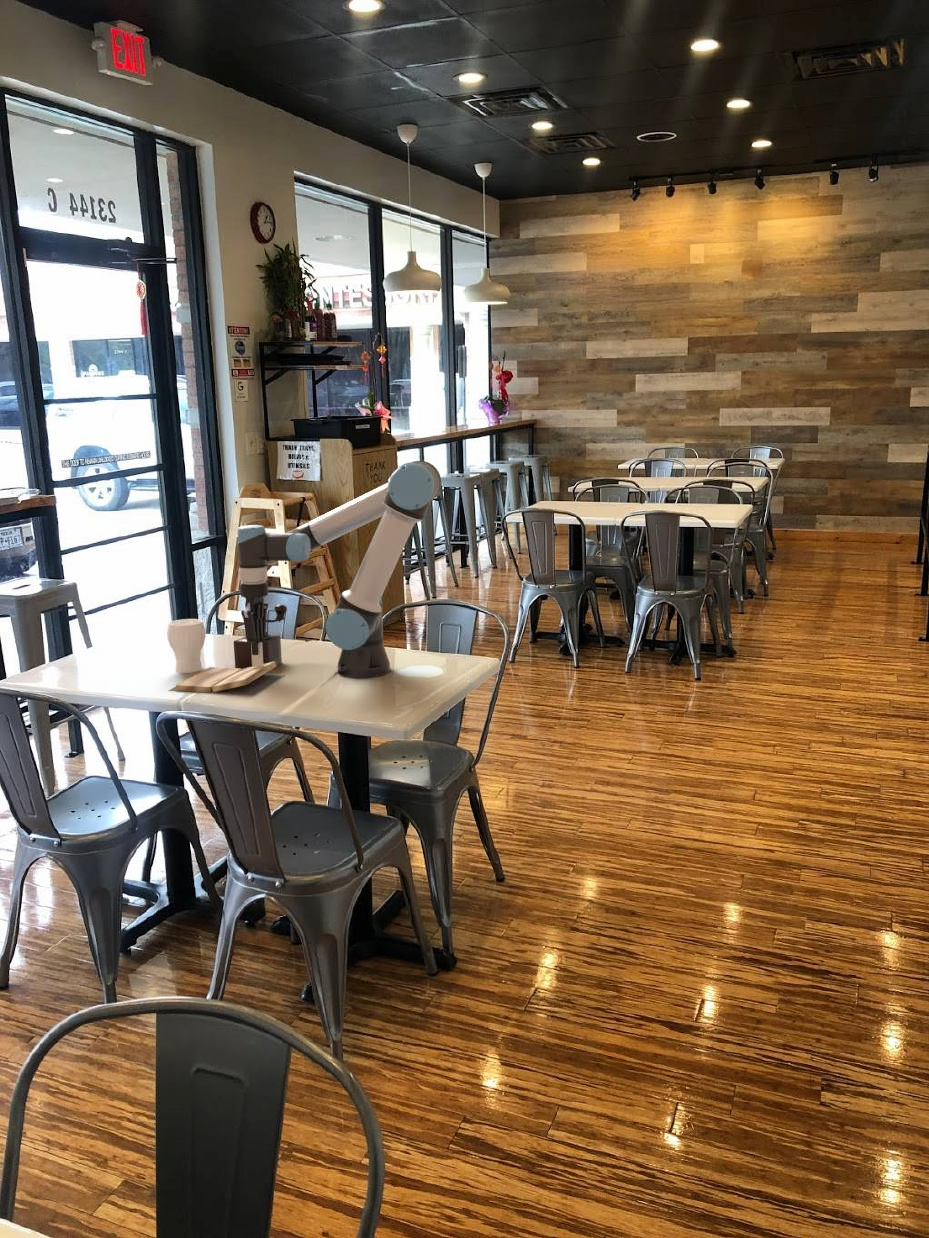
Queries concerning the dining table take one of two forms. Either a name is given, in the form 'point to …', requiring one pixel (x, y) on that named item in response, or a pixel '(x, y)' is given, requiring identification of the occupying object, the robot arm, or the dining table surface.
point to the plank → (243, 676)
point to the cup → (187, 643)
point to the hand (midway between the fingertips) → (257, 665)
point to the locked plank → (206, 679)
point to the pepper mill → (269, 646)
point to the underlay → (248, 686)
